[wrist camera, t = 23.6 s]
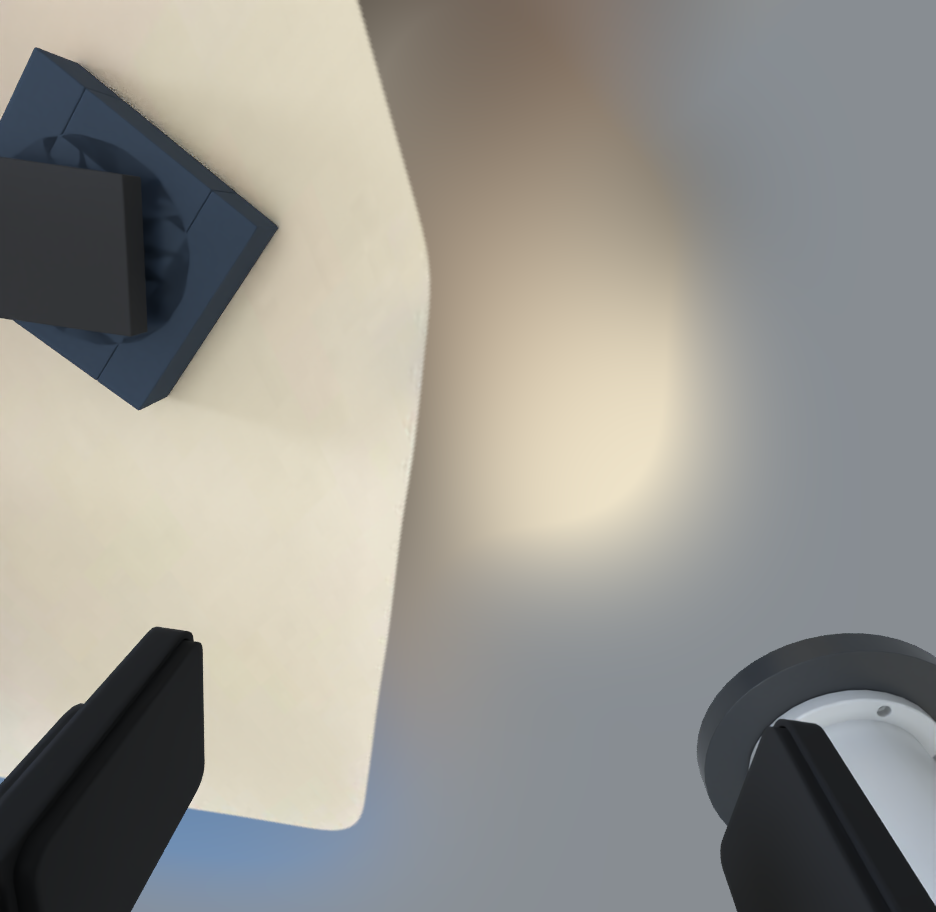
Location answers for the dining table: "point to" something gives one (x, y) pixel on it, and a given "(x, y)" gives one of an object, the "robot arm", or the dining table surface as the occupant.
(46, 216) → the black pad
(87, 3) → the dining table surface
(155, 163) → the base pad
